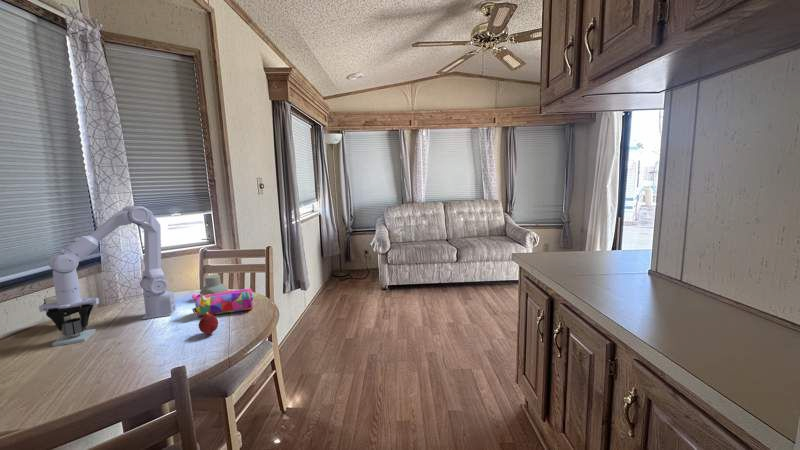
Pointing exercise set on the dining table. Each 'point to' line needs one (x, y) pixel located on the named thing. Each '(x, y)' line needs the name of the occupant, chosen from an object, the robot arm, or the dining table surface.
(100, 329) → the dining table surface
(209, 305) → the pencil case
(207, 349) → the dining table surface
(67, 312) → the pneumatic valve
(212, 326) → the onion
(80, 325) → the ring
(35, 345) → the dining table surface
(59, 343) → the square plate with peg
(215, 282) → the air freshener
